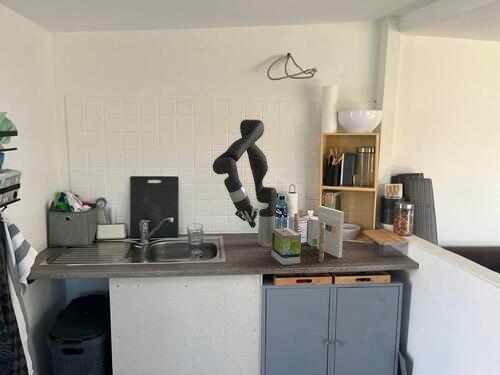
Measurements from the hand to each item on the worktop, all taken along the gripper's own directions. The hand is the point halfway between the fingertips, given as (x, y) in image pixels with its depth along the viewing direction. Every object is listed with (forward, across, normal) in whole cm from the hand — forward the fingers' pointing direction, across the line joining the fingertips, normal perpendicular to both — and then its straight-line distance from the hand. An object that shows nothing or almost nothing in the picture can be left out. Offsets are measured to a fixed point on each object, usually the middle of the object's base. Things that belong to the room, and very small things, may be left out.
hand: (253, 226), depth 177 cm
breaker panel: (+39, -18, -26) cm, 50 cm away
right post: (+32, -20, -12) cm, 40 cm away
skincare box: (+41, -6, -36) cm, 55 cm away
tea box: (+26, -4, -6) cm, 27 cm away
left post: (+33, -1, -22) cm, 40 cm away
